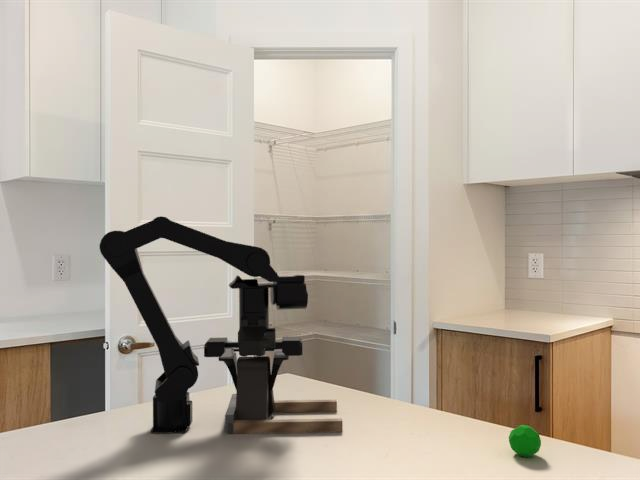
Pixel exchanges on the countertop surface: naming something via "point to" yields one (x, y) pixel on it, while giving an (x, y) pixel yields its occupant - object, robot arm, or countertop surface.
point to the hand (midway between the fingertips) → (254, 390)
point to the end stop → (230, 414)
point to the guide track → (292, 424)
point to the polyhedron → (524, 441)
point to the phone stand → (254, 389)
